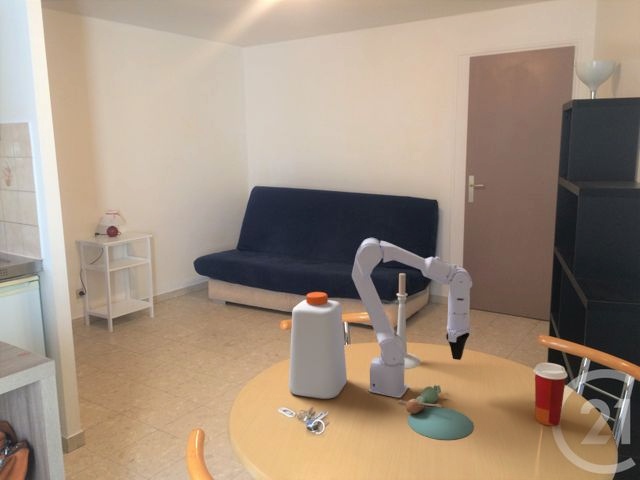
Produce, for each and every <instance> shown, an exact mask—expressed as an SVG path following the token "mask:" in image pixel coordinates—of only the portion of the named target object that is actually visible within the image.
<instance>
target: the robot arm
mask: <svg viewBox="0 0 640 480" xmlns="http://www.w3.org/2000/svg"><path fill="white" fill-rule="evenodd" d="M382 259H383V260H382ZM381 260H382V262H383V263H387V262H391V261H395V262H399V263H401V264H403V265H405V266H406V265H407V266H409V267H412V268H415V269H418V270H420V271H421V273H422V275H423V276H424V277H425V278H427V279H431V280H433V281H435V282H438V283H440V284H442V285H445V286H447V285H449V287H448V295H447V296H448V297H447V298H448V299H447V325H446V331H447V333H446V334H445V338H446V340H447V342H448V344H449V347H450V351H451V357H452V359H453V360H457V361H461V360H462V358H463V355H464V354H463V353H464V349H465V346H466V343H467V340H468V338H469V337H470V333H473V332H474V327H470V306H471V302H470V301H471V295H470V294H471V291H470V289H471V288H472V287H473V281H472V277H471V275H470V273H469V272H468V271H467V270H466V269H465V268H464V267H462V266H461V265H457V264H456V263H453V264H450V263H448V262H446V261H444V260H442V259H441V257H439V256H435V257H434V256H430V257H427V258H424V257H421V256H419V255H417V254H416V253H413V252H411V251H408V250H406V249H404V248H402V247H400V246H398V245H395V244H393V243H390V242H388V241H384V240H378V238H374V237H369V238H366V239H364V240H363V241H362V242H361V244H360V245H359V246H358V249H357V251H356V254H355V258H354V262H353V267H352V272H351V279H352V280H353V283H354V285H355V288H356V290H357V293H358V295H359V297H360V299H361V301H362V304H363V306H364V309H365V312H366V313H367V315H368V318H369V320H370V323H371V325H372V327H373V329H374V332H375V333H376V337H377V342H378V345H379V348H380V356H379V357H373V358H372V360H371V363H370V368H369V389H368V392H369V393H374V394H377V395H382V396H389V397H393V398H398V399H401V398H402V397H403V395H404V394H405V393H406V392H407V391H408V389H409V387H410V386H409V385H408V384H405V370H406V369H405V359H404V358H403V356H404V353H403V341H402V339H401V337H400V336H399V335H397V331H395V328H394V326H392V324H391V322H390V319H389V317H388V315H387V312H386V311H385V308H384V306H383V303H382V301H381V298H380V296H379V294H378V292H377V289H376V286H375V285H374V283H373V280H372V277H371V274H372V273H373V270H374V268H375V267H376V266H378V264H379V263H380V261H381Z"/></svg>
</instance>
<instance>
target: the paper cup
mask: <svg viewBox="0 0 640 480" xmlns="http://www.w3.org/2000/svg"><path fill="white" fill-rule="evenodd" d="M532 370H533V373H534V380H535V381H534V384H535V385H534V389H535V390H534V391H535V392H534V397H535V398H534V400H535V401H534V402H535V403H534V404H535V420H536V422H538V423H539V424H541V425H543V426H544V425H545V426H550V427H551V426H552V427H553V426H557V425H559V424H560V421H561V414H562V410H563V409H562V408H563V400H564V393H565V388H566V387H565V386H566V378H567V377H568V373H567V371H566V369H565V367H564V366H562V365H560V364H557V363H552V362H540V363H538V364H536V366H534V369H532Z"/></svg>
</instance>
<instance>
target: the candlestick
mask: <svg viewBox="0 0 640 480" xmlns="http://www.w3.org/2000/svg"><path fill="white" fill-rule="evenodd" d="M395 296H397V300H398V303H399V304H398V312H397V313H398V315H397V316H398V317H397V330H396V334H397V335H399V336H400V337H401V339H402V341H403V353H404V356H403V358H404V359H405V370H407V369H415V368H417V367H419V366H420V365H421V364H420V363H421V362H422V360H421V359H420V358H419V357H418V356H417V355H415V354H413V353H409V352H408V348H407V325H406V324H407V323H406V304H405V302H406V301H407V296H408V293H406V273H403V272H401V273H399V274H398V292H397V293H396V295H395Z"/></svg>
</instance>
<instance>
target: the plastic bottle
mask: <svg viewBox="0 0 640 480" xmlns="http://www.w3.org/2000/svg"><path fill="white" fill-rule="evenodd" d="M328 296H329V295H328V294H327V293H326V292H321V291H314V292H312V291H311V292H309V293H307V294H306V297H305V298H306V299H304V300H302V301H301V302H299V303H298V304H297V305H296V306H294V307H293V308H292V311H291V314H292V315H291V332H290V334H291V335H290V349H289V350H290V353H289V372H288V390H289V391H290V393H291V394H293V395H296V396H299V397H300V396H301V397H308V398H314V399H321V400H330V399H333V398H336V397H338V395H339V394H340V392H342V390H343V388H344V386H345V385H346V384H347V381H348V378H347V377H348V375H347V367H346V366H347V363H346V353H345V352H346V350H345V339H344V337H345V335H344V326H343V325H344V324H343V312H342V311H343V310H342V304H341V303H340V302H339V301H336V300H331V299H329V297H328ZM328 299H329V300H328Z"/></svg>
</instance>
